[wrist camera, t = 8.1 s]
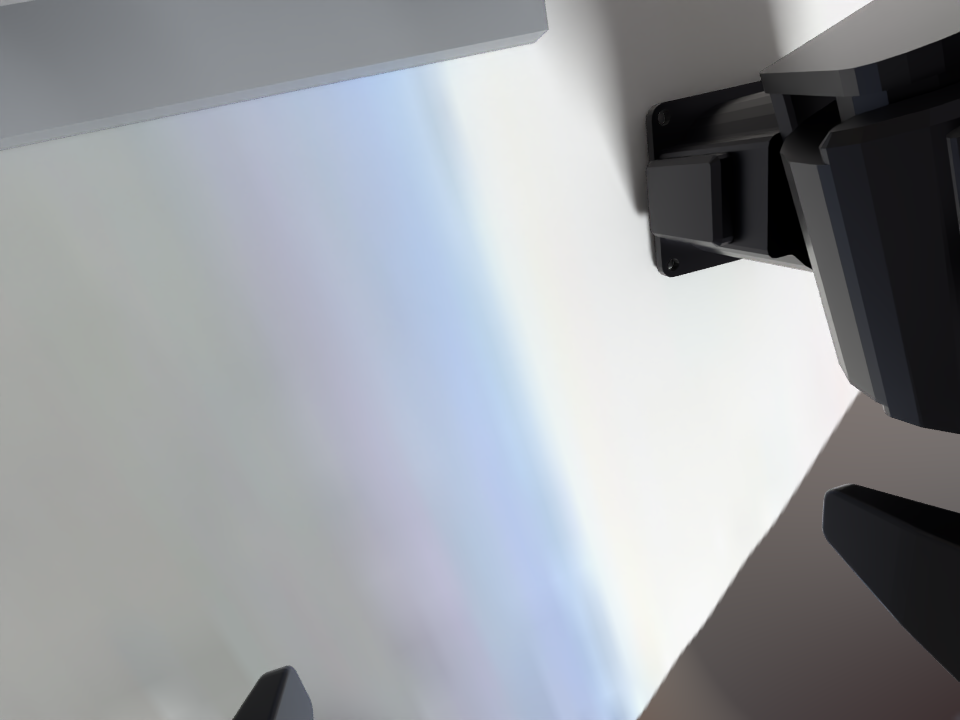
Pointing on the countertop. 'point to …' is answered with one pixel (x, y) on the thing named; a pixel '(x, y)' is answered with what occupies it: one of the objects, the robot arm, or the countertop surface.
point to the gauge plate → (220, 52)
